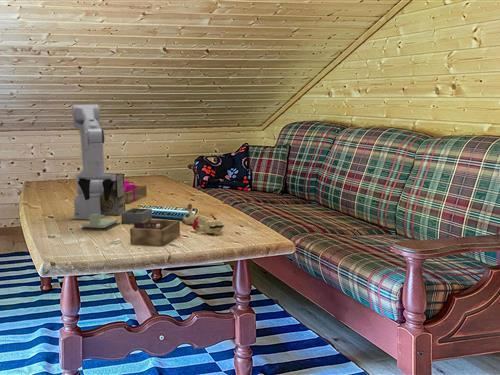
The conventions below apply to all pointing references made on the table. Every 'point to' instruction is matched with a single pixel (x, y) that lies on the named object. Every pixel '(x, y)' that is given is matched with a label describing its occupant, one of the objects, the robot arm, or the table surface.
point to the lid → (98, 222)
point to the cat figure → (203, 222)
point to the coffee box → (114, 197)
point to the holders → (151, 235)
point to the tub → (136, 215)
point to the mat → (103, 228)
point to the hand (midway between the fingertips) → (97, 200)
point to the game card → (141, 225)
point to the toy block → (129, 187)
